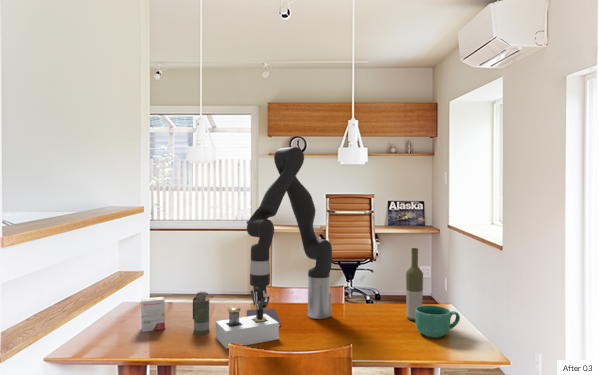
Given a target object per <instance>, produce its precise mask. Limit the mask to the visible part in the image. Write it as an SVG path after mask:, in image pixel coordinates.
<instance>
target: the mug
mask: <svg viewBox="0 0 599 375" xmlns="http://www.w3.org/2000/svg"><path fill="white" fill-rule="evenodd" d="M453 315H455V319H454V321H453V322H452V323H451V318H452V316H453ZM460 320H461V316H460V314H459V313H458V312H457V311H456V310H453V311H452V310H449V308H445V307H444V306H439V305H430V304H429V305H428V304H427V305H426V304H424V305H422V306H418V307H416V311H415V321H414V322H415V327H416V329H417V331H418V332H419V333H421V334H422V335H423V336H425V337H427V338H432V339H433V338H434V339H436V338H442V337H443V336H446V335H447V334H448V333H449V332H450V331H451V330H452V329H453V328H455V327H456V326H457V325H459V323H460Z"/></svg>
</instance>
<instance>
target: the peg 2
mask: <svg viewBox="0 0 599 375" xmlns="http://www.w3.org/2000/svg"><path fill="white" fill-rule="evenodd" d="M254 321H255V323H259V322H265V321H266V318H265V317H263V319H257V318H256V317H255V318H254Z"/></svg>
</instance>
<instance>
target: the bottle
mask: <svg viewBox="0 0 599 375" xmlns="http://www.w3.org/2000/svg"><path fill="white" fill-rule="evenodd" d="M410 252H411V266H410V267H409V268H408V270H406V272H405V284H406V285H405V288H406V289H405V292H406V295H405V296H406V301H405V303H406V319H407V320H409V321H412V322H416V321H415V311H416V307H418V306H423V296H424V295H423V292H424V290H423V289H424V288H423V287H424V286H423V285H424V272H423V271H422V270H421V269H420V268H419V248H417V247H412V248H411V251H410Z"/></svg>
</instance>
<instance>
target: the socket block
mask: <svg viewBox="0 0 599 375" xmlns="http://www.w3.org/2000/svg"><path fill="white" fill-rule="evenodd" d="M255 317H256V315H255V316H248V317H247V316H243V317H239V326H234V327H229V318H228V319H223V320H216V321H215V339H217V341H218V342H219V343H220V344H221V345H222V347H224V348H225V349H229V348H228V344H229V343H236V344H242V345H244V346H247V345H254V344H258V343H259V344H260V343H264V342H266V343H267V342H271V341H276V340H280V337H279V336H280V332H279V331H280V329H279V328H280V326H279V323H278V322H277V321H275V320H274V319H272V318H271V317H270V316H268V315H267V314H263V317H265V318H266V321H265V322H259V323H255V321H254V318H255Z"/></svg>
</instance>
